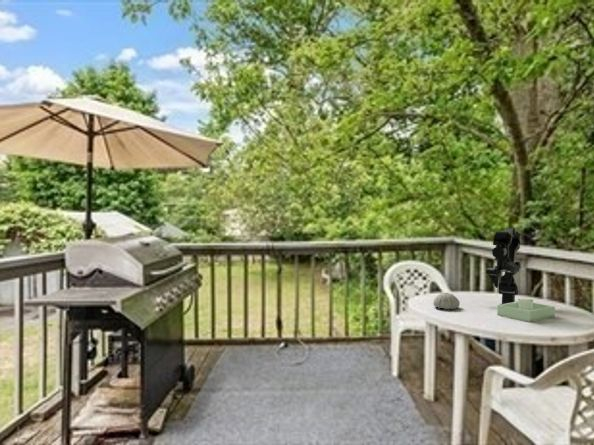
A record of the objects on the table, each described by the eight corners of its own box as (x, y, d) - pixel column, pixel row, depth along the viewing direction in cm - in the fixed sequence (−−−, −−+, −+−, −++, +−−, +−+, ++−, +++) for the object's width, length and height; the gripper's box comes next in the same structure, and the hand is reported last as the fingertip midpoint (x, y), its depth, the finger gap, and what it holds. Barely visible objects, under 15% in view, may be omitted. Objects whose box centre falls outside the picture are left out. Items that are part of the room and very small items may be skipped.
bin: (521, 310, 291) (521, 300, 290) (554, 316, 275) (554, 306, 275) (497, 315, 281) (497, 305, 281) (530, 322, 266) (530, 311, 265)
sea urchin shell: (431, 305, 307) (430, 291, 307) (456, 305, 307) (456, 290, 306) (436, 311, 294) (436, 295, 294) (462, 310, 294) (462, 295, 293)
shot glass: (515, 312, 281) (515, 298, 281) (529, 312, 282) (529, 298, 281) (522, 315, 274) (522, 301, 274) (536, 315, 275) (536, 300, 275)
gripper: (503, 259, 279) (503, 291, 280) (528, 256, 288) (528, 287, 289) (485, 257, 288) (485, 288, 289) (509, 254, 298) (509, 284, 299)
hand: (502, 286), depth 291 cm, fingers open, 9 cm apart
